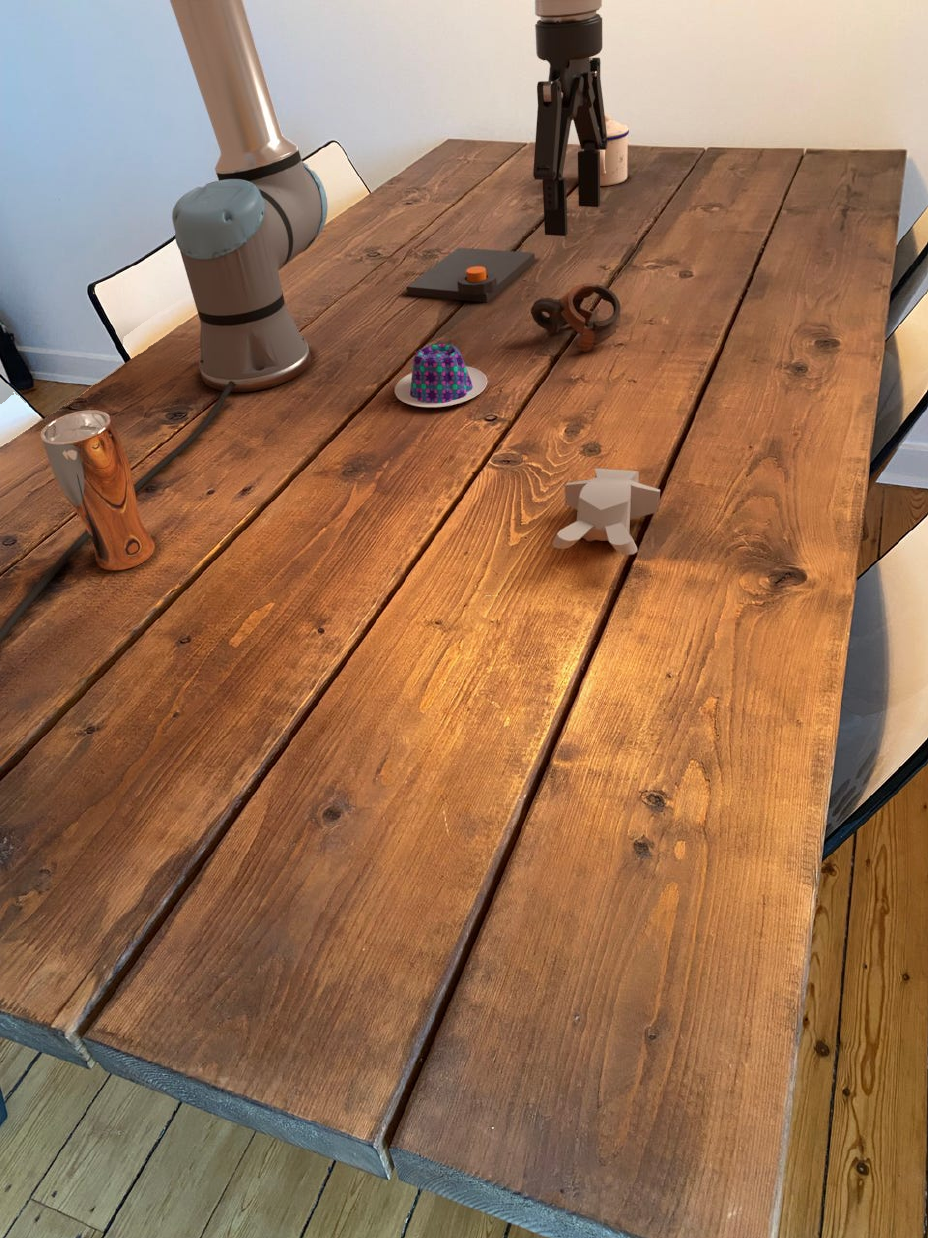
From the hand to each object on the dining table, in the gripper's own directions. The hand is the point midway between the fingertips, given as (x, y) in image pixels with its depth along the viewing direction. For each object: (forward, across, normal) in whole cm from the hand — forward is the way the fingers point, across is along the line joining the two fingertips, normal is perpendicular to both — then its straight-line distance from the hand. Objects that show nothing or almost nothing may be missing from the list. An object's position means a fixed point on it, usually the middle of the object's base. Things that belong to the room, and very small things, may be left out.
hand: (573, 219), depth 120 cm
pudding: (+16, -19, +11) cm, 27 cm away
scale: (+16, +18, +25) cm, 35 cm away
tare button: (+13, +11, +21) cm, 27 cm away
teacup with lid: (+16, +70, +22) cm, 75 cm away
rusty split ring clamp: (+16, 0, 0) cm, 16 cm away
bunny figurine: (+16, -42, -20) cm, 49 cm away
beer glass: (+16, -62, +26) cm, 69 cm away
